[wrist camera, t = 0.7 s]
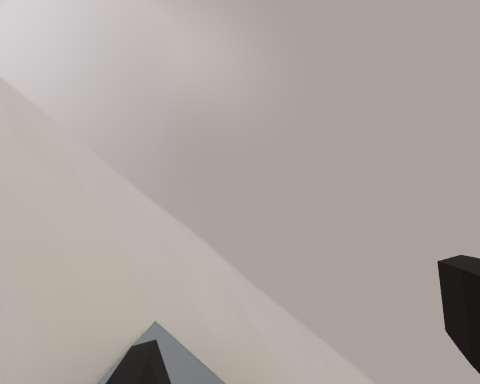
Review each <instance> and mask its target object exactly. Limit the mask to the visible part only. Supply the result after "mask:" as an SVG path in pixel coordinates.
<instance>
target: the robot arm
mask: <svg viewBox="0 0 480 384" xmlns="http://www.w3.org/2000/svg"><path fill="white" fill-rule="evenodd" d="M438 270H439V278H440V287H441V295H442V304H443V313H444V321H445V330H446V332H447V333H448V335H449V336H450V338H451V339H452V340H453V342H454V343H455V344H456V346H457V347H458V348H459V350H460V351H461V352H462V353H463V355H464V356H465V358H466V359H467V360H468V361H469V362H470V364H471V365H472V366H473V367H474V368H475V369H476V370H477V371H478V373H479V374H480V259H479V258H474V257H469V256H464V255H459V256H455V257H452V258H448V259H445V260H441V261H438ZM106 384H171V381H170V379H169V376H168V373H167V370H166V367H165V364H164V361H163V358H162V355H161V352H160V349H159V346H158V343H157V340H156V339H155V340H152V341H148V342H145V343H141V344H137V345H134V346H131V348H130V349H129V350H128V352H127V353H126V355H125V356H124V357H123V359H122V360H121V362H120V363H119V365H118V366H117V368H116V369H115V371H114V372H113V374H112V375H111V377H110V378H109V379H108V381H107V382H106Z"/></svg>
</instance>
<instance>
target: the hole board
mask: <svg viewBox="0 0 480 384" xmlns="http://www.w3.org/2000/svg"><path fill="white" fill-rule="evenodd" d="M155 339H156V340H157V343H158V346H159V349H160V352H161V355H162V358H163V361H164V364H165V367H166V370H167V373H168V376H169V379H170V381H171V384H225V383H224V382H223V381H222V380H221V379H220V378H219V377H217V376H216V375H215V374H214V373H213V372H212V371H211V370H210V369H209V368H207V367H206V366H205V365H204V364H203V363H202V362H201V361H200V360H199V359H197V358H196V357H195V356H194V355H193V354H192V353H191V352H190V351H188V350H187V349H186V348H185V347H184V346H183V345H182V344H181V343H180V342H178V341H177V340H176V339H175V338H174V337H173V336H172V335H171V334H170V333H168V332H167V331H166V330H165V329H164V328H163V327H162V326H161V325H160V324H158V323H157V322H156V321H155V322H154V323H153V324H152V325H151V326H150V327H149V328H148V329H147V330H146V332H145V333H144V334H143V335H142V336H141V337H140V338H139V339H138V340H137V341H136V342H135V343H134V345H137V344H141V343H145V342H148V341H152V340H155ZM134 345H133V346H134ZM127 352H128V351H127ZM127 352H126V353H127ZM126 353H125V354H124V355H123V356H122V358H121V359H120V360H119V361H118V362H117V363H116V364H115V365H114V366H113V367H112V368H111V369H110V371H109V372H108V373H107V374H106V375H105V376H104V377H103V378H102V379H101V380H100V381H99V382H98V384H106V382H107V381H108V379H109V378H110V377H111V375H112V374H113V372H114V371H115V369H116V368H117V366H118V365H119V363H120V362H121V360H122V359H123V357H124V356H125V355H126Z"/></svg>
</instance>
